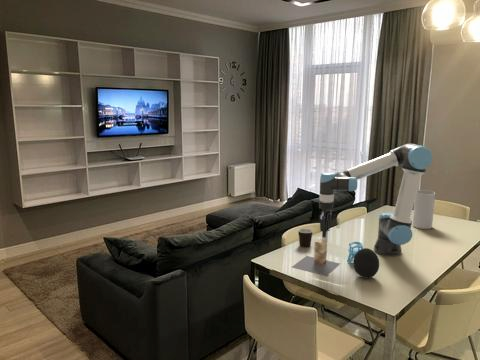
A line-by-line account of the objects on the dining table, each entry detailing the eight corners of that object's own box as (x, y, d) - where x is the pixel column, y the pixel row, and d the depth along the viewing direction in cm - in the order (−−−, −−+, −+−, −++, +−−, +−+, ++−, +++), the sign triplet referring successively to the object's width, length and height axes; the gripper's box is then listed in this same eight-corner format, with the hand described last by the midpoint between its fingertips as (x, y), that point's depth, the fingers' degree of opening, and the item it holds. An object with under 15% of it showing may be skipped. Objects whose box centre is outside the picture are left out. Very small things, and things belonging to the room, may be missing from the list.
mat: (340, 264, 211) (340, 263, 211) (326, 277, 196) (326, 276, 196) (306, 256, 223) (306, 255, 222) (291, 268, 207) (291, 267, 207)
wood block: (326, 261, 214) (327, 240, 212) (322, 264, 210) (323, 243, 208) (317, 259, 217) (318, 238, 215) (314, 262, 213) (314, 241, 211)
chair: (345, 260, 217) (346, 240, 214) (360, 260, 216) (361, 240, 214) (349, 266, 209) (349, 245, 207) (364, 266, 209) (365, 245, 207)
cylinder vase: (433, 225, 276) (436, 191, 271) (430, 230, 266) (434, 195, 261) (414, 223, 283) (416, 189, 278) (411, 227, 272) (413, 192, 268)
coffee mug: (308, 249, 233) (309, 234, 231) (295, 247, 237) (296, 231, 235) (316, 244, 242) (316, 228, 241) (303, 241, 247) (303, 226, 245)
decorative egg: (382, 282, 190) (384, 253, 187) (358, 283, 189) (359, 254, 186) (372, 271, 202) (373, 244, 200) (349, 272, 201) (350, 244, 199)
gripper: (324, 197, 219) (323, 237, 224) (314, 202, 209) (313, 244, 214) (337, 199, 215) (335, 240, 220) (328, 204, 205) (326, 247, 209)
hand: (324, 242), depth 217 cm, fingers closed
